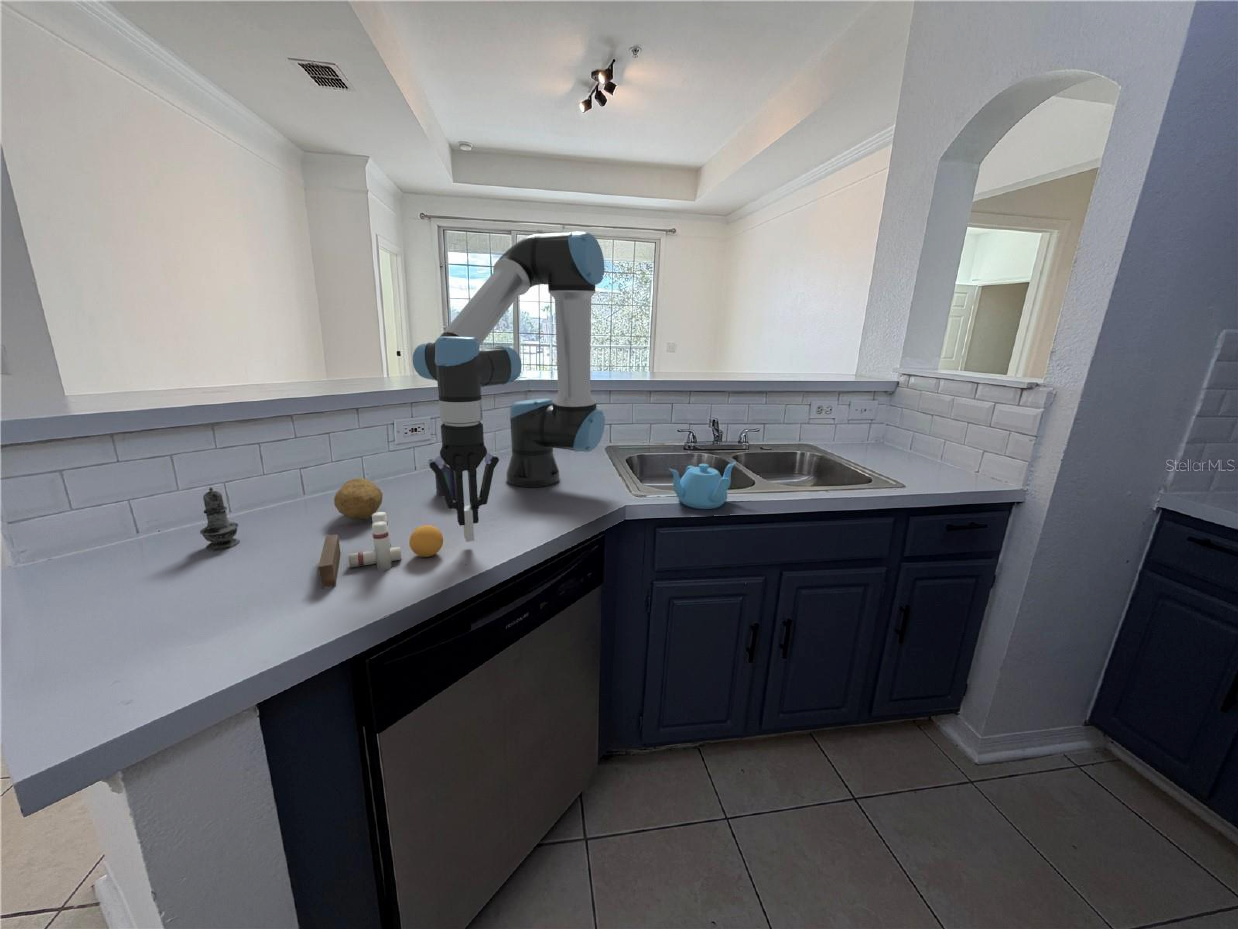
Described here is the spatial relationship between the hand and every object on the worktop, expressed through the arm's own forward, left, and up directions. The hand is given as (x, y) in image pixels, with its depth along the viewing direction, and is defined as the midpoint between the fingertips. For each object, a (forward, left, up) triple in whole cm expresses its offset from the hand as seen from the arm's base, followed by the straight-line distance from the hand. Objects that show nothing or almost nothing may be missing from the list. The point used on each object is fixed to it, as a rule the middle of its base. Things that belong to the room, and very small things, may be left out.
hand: (469, 538), depth 96 cm
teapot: (-59, -4, -2) cm, 59 cm away
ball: (+8, 0, +1) cm, 8 cm away
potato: (+20, -26, -2) cm, 32 cm away
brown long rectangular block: (+24, 0, -2) cm, 24 cm away
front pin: (+13, 0, -1) cm, 13 cm away
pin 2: (+15, +2, -2) cm, 16 cm away
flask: (0, -32, -2) cm, 33 cm away
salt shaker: (+44, -20, -2) cm, 48 cm away
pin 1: (+15, -2, -2) cm, 16 cm away
